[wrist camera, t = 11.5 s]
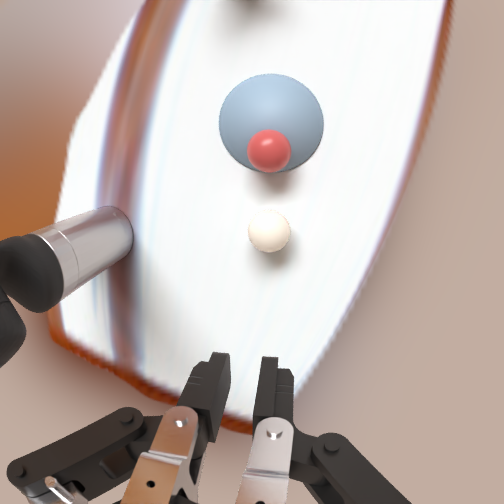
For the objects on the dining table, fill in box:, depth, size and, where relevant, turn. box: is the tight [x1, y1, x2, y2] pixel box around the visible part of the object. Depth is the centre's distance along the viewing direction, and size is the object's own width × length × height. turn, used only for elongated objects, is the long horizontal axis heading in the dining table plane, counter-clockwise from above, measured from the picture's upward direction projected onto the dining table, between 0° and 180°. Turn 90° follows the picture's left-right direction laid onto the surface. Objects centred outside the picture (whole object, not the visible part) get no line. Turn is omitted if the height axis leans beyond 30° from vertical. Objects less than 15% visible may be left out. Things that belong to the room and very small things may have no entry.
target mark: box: [219, 74, 323, 172], centre depth 35 cm, size 14×14×1 cm
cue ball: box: [248, 210, 290, 253], centre depth 37 cm, size 6×6×6 cm
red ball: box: [247, 129, 291, 173], centre depth 34 cm, size 6×6×6 cm
